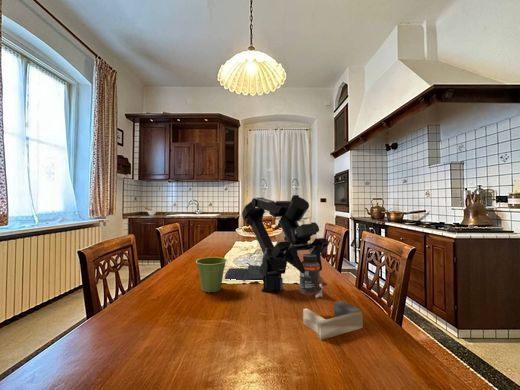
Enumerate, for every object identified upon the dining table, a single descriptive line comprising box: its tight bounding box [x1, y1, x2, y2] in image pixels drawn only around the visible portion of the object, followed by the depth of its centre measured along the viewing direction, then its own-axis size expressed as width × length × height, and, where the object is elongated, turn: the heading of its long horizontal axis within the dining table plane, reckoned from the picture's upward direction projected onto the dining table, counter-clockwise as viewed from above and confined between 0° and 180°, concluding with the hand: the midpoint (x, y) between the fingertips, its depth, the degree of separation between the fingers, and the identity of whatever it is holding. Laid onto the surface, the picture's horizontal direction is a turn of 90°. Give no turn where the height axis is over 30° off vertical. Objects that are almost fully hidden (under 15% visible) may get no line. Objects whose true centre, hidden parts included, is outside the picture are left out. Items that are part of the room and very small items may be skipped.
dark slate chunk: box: [224, 264, 263, 280], centre depth 122 cm, size 15×22×5 cm
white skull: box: [314, 284, 324, 299], centre depth 99 cm, size 5×7×10 cm
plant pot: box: [195, 256, 228, 293], centre depth 104 cm, size 12×12×11 cm
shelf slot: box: [302, 300, 364, 341], centre depth 73 cm, size 9×14×4 cm, turn 116°
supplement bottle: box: [299, 253, 321, 296], centre depth 82 cm, size 6×6×11 cm
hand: (312, 271), depth 80 cm, fingers closed on supplement bottle, 6 cm apart
